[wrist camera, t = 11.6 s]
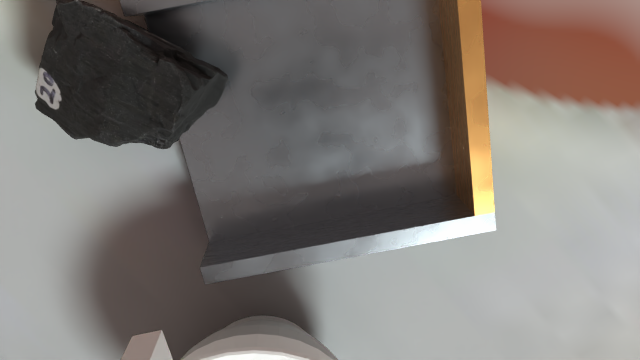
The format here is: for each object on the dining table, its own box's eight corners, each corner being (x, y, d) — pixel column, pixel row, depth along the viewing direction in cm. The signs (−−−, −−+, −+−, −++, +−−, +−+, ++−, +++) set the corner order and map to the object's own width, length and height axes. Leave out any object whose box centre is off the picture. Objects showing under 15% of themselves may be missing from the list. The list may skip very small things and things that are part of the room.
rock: (243, 22, 22) (-23, -5, 18) (233, 185, 25) (1, 187, 21) (214, 4, 31) (35, -15, 28) (209, 124, 34) (46, 119, 31)
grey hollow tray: (216, 246, 35) (205, 284, 30) (145, -7, 29) (116, -9, 24) (468, 199, 35) (495, 230, 30) (445, -65, 29) (475, -79, 24)
